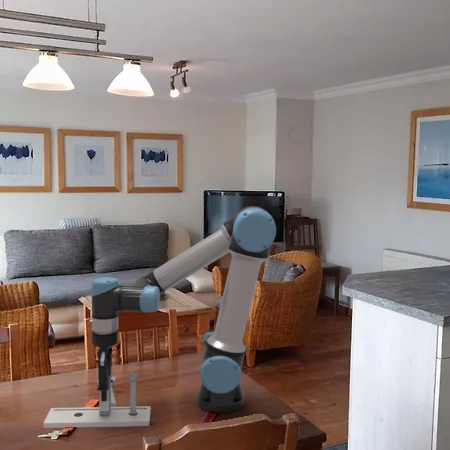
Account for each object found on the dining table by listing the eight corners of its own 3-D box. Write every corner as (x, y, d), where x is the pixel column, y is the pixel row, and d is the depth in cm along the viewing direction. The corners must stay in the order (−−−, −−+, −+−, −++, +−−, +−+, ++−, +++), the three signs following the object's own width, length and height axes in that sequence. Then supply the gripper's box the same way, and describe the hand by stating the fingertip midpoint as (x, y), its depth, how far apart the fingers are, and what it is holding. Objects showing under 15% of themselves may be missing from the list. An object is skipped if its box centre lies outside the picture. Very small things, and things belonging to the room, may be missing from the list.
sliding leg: (110, 410, 166) (110, 375, 165) (109, 415, 163) (109, 379, 162) (100, 410, 165) (100, 375, 164) (99, 415, 162) (99, 379, 161)
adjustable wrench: (117, 410, 171) (117, 405, 171) (95, 412, 170) (95, 406, 170) (115, 380, 196) (115, 375, 196) (96, 381, 194) (96, 376, 194)
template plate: (150, 410, 170) (151, 366, 169) (149, 425, 161) (149, 378, 159) (51, 412, 168) (50, 367, 166) (43, 428, 158) (42, 380, 156)
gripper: (95, 323, 169) (96, 396, 172) (87, 339, 153) (88, 420, 156) (120, 322, 170) (120, 396, 172) (114, 338, 154) (115, 419, 156)
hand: (105, 407), depth 164 cm, fingers closed on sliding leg, 3 cm apart
